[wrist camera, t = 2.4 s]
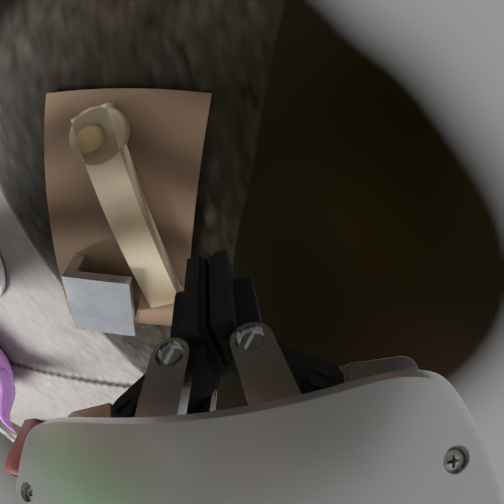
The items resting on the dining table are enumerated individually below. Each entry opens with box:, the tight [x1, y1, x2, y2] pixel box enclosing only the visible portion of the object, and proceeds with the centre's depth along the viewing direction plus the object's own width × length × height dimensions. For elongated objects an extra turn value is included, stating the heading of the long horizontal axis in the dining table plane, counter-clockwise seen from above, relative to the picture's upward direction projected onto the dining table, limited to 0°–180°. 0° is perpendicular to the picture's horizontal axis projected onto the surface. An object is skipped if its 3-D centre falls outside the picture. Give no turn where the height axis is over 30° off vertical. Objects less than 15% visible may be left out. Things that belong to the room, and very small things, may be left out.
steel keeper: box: [61, 253, 141, 336], centre depth 24 cm, size 6×6×4 cm
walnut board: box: [44, 88, 212, 326], centre depth 23 cm, size 24×14×1 cm, turn 169°
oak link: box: [69, 102, 182, 308], centre depth 20 cm, size 18×4×3 cm, turn 11°
